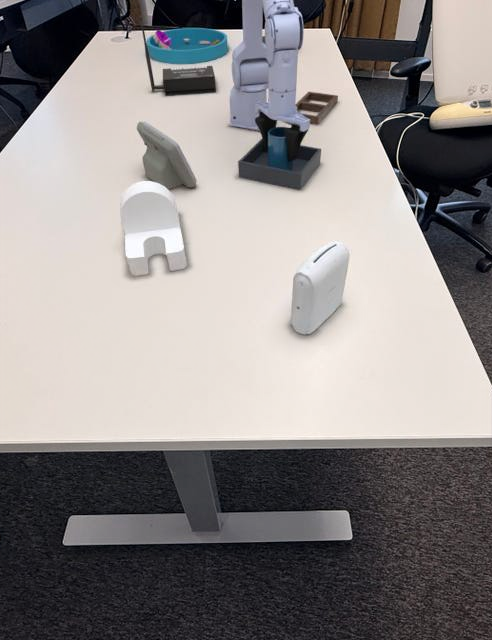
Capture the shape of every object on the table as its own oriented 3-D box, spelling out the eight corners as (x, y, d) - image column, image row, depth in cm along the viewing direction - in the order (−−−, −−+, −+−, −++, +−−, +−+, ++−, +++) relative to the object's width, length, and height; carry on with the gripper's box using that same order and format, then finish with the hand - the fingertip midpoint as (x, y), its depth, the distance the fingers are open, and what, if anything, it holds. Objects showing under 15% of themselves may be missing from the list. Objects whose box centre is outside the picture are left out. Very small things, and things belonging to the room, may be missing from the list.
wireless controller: (212, 77, 144) (207, 12, 131) (216, 92, 135) (211, 24, 122) (152, 81, 143) (141, 16, 129) (151, 96, 134) (139, 28, 121)
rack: (286, 119, 121) (287, 112, 119) (308, 98, 131) (308, 91, 129) (318, 124, 118) (318, 117, 117) (337, 102, 128) (338, 95, 127)
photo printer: (308, 339, 66) (315, 276, 57) (286, 327, 68) (289, 263, 59) (344, 304, 71) (357, 240, 62) (323, 293, 73) (331, 229, 64)
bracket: (187, 268, 78) (177, 211, 69) (130, 276, 77) (113, 219, 68) (177, 213, 90) (168, 158, 82) (128, 219, 89) (113, 164, 80)
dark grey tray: (238, 177, 100) (238, 161, 97) (261, 153, 107) (261, 138, 105) (300, 190, 96) (301, 174, 93) (320, 164, 103) (321, 148, 100)
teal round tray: (161, 39, 175) (158, 21, 170) (234, 40, 172) (233, 22, 167) (138, 62, 156) (134, 43, 151) (219, 64, 153) (218, 44, 148)
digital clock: (199, 189, 96) (193, 140, 88) (161, 199, 94) (151, 149, 86) (176, 159, 106) (168, 112, 98) (140, 168, 104) (129, 120, 95)
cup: (262, 167, 101) (262, 132, 95) (280, 159, 104) (281, 124, 98) (280, 176, 98) (281, 140, 92) (297, 167, 101) (299, 132, 95)
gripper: (322, 91, 87) (316, 159, 97) (271, 74, 94) (270, 139, 104) (297, 100, 84) (294, 169, 94) (247, 82, 90) (249, 148, 101)
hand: (280, 154), depth 99 cm, fingers open, 7 cm apart
